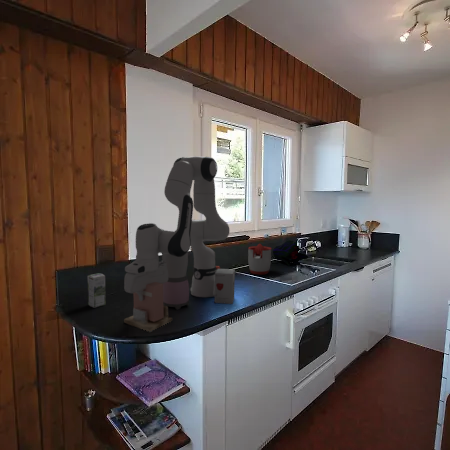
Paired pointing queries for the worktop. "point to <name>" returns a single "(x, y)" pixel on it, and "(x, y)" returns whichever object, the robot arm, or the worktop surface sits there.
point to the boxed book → (151, 301)
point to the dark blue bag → (289, 253)
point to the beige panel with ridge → (151, 324)
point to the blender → (176, 281)
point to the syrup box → (96, 290)
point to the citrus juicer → (259, 259)
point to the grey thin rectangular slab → (140, 316)
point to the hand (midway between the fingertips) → (148, 298)
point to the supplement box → (224, 286)
